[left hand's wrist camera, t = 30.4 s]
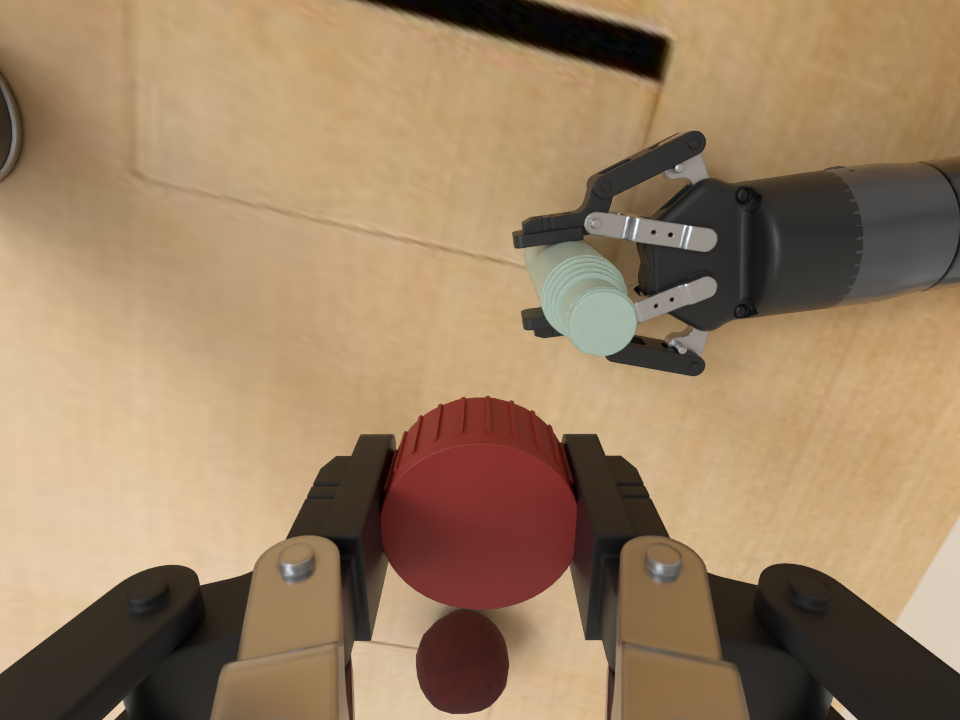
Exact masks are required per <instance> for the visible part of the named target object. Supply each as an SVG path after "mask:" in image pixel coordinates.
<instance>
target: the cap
mask: <svg viewBox="0 0 960 720" xmlns="http://www.w3.org/2000/svg"><path fill="white" fill-rule="evenodd" d="M573 483H574V480H573V476H572V473H571V469H570V466H569V462H568V458H567V455H566V451H565V448H564V444H563V442H561V443H560V442H559V441H558V439H557V437H556V435H555V434H554V433H553V429H552V426H551V425H550V424H549V425H547V424H546V423H545V422H544V421H543V420H541V419H540V418H539V417H538V416H536V415H535V412H534V411H533V410H531V412H530V411H529V410H528V409H525V408H524V407H521V406H519V405H516V404H514V401H511V400H510V402H508V401H504V400H500V399H496V398H490V396H486V398H467V399H465V397H462V398H461V399H459V400H455V401H453V402H450V403H447V404H444V405H442V403H441V404H439V405H438V408H436V409H434V410H432V411H430V412H428V413H427V414H425V415H424V416H422V415H421V416H419V417H418V421H417V422H416V423H415V424H414V425H413V426H412V427H411V428H410V429H409V431H408V432H406V431H405V432H404V433H403V437H402V440H401V443H400V446H399V448H398V450H395V451H394V454H393V458H392V461H391V465H390V468H389V472H388V475H387V479H386V482H385V486H384V489H383V491H384V492H386V494H385V498H384V501H383V505H382V509H381V513H380V516H381V531H382V543H383V549H384V552H385V554H386V557H387V559H388V561H389V562H390V564H391V566H392V567H393V569H394V570H395V571H396V573H397V574H398V575H399V576H400V577H401V578H402V579H403V580H404V581H405V582H406V583H407V584H408V585H409V586H411V587H412V588H413V589H415V590H416V591H418V592H419V593H421V594H423V595H424V596H426V597H428V598H430V599H432V600H435V601H437V602H440V603H443V604H446V605H449V606H453V607H458V608H464V609H478V610H486V609H497V608H502V607H508V606H511V605H515V604H518V603H521V602H524V601H526V600H528V599H531V598H533V597H535V596H536V595H538V594H540V593H542V592H543V591H544V590H546V589H547V588H549V587H550V586H551V585H552V584H554V583H555V582H556V581H557V580H558V579H559V578H560V577H561V576H562V574H563V573H564V572H565V571H566V570H567V568H568V567H569V565H570V563H571V562H572V560H573V556H574V544H575V530H576V517H577V500H576V496H575V494H574V489H573V485H572V484H573Z"/></svg>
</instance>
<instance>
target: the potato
mask: <svg viewBox="0 0 960 720" xmlns="http://www.w3.org/2000/svg"><path fill="white" fill-rule="evenodd" d="M416 669H417V677H418V681H419V684H420V687H421V690H422V691H423V693H424V695H425V696H426V698H427V699H428V700H429V701H430V703H431V704H432V705H433V706H434V707H435V708H437V709H438V710H441V711H444V712H447V713H451V714H468V713H473V712H479V711H482V710H484V709H486V708H488V707H490V706H491V705H492V704H493V703H494V702H495V701H496V700H497V699H498V698H499V696H500V695H501V694H502V692H503V690H504V689H505V687H506V682H507V676H508V670H509V660H508V653H507V647H506V643H505V640H504V638H503V636H502V634H501V632H500V631H499V629H498V628H497V626H496V625H495V624H494V623H492V622H491V621H490V620H489V619H488V618H486V617H485V616H483V615H481V614H478V613H476V612H473V611H467V610H461V611H456V612H451V613H450V614H448V615H446V616H445V617H443V618H441V619H439V620H438V621H437V622H435V623H434V624H433V625H432V626H431V627H430V628H429V630H428V631H427V632H426V633H425V634H424V635H423V637H422V640H421V642H420V645H419V648H418V651H417V654H416Z"/></svg>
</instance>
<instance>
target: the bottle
mask: <svg viewBox="0 0 960 720" xmlns="http://www.w3.org/2000/svg"><path fill="white" fill-rule="evenodd" d="M525 263H526V267H527V270H528V272H529V275H530V278H531V280H532V283H533V286H534V288H535V291H536V294H537V296H538V299H539V302H540V304H541V307H542V310H543V312H544V315H545V317H546V319H547V320H548V322H549V323H550V324H551V325H552V327H553V328H555V329H556V330H557V331H558V332H559V333H561V334H563V335H564V336H567V337H569V339H570V340H571V342H572V344H573V345H574V346H575V347H577V348H578V349H579V350H580V351H582V352H584V353H586V354H589V355H593V356H608V355H611V354H614V353H616V352H618V351H620V350H622V349H623V348H624V347H625V346H626V345H627V344H628V343H629V342H630V341H631V339H632V338H633V336H634V335H635V332H636V329H637V326H638V315H637V311H636V307H635V306H634V304H633V302H632V301H631V300H630V299H629V298H628V292H627V287H626V284H625V281H624V278H623V276H622V274H621V273H620V271H619V270H618V269H617V268H616V267H615V266H614V265H613V264H612V263H611V262H610V261H608V260H607V259H606V258H605V257H604V256H602V255H601V254H600V253H599V252H597V251H596V250H595V249H594V248H593V247H591V246H590V245H589V244H588V243H586V242H585V241H584V240H579V241H569V242H563V243H557V244H549V245H542V246H535V247H527V248H526V251H525Z"/></svg>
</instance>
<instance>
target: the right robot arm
mask: <svg viewBox="0 0 960 720" xmlns="http://www.w3.org/2000/svg"><path fill="white" fill-rule="evenodd" d="M705 144H706V139H705V137H704V135H703V134H702V133H701V132H699V131H690V132H683V133H677V134H674V135H672V136H670V137H668V138H666V139H664V140H662V141H660V142H658V143H656V144H654V145H652V146H650V147H648V148H646V149H644V150H642V151H640V152H638V153H636V154H634V155H632V156H630V157H628V158H626V159H624V160H622V161H620V162H618V163H616V164H614V165H612V166H610V167H608V168H606V169H604V170H602V171H600V172H598V173H596V174H594V175H592V176H591V177H590V178H589V179H588V181H587V191H586V194H585V198H584V201H583V204H582V205H581V206H580V207H579V208H578V209H577V210H575V211H571V212H564V213H557V214H550V215H543V216H535V217H530V218H528V219H526V220H524V221H523V222H522V230H520V231H515V232H512V235H513V244H514V247H515V248H527V247H535V246H542V245H549V244H557V243H563V242H569V241H579V240H583V235H589V234H592V235H598V236H605V237H612V238H619V239H625V240H629V241H634V242H637V250H638V253H639V256H640V260H641V264H640V269H639V273H638V283H636V284H634V285H631V286H629V287H627V292H628V298H629V299H630V300H631V301H632V302H633V304H634V306H635V307H636V311H637V315H638V323H641V322H645V321H647V320H650V319H652V318H655V317H657V316H660V315H662V314H665V313H668V314H670V315H671V316H673V317H675V318H677V319H679V320H681V321H682V322H684V323H686V324H688V327H687V328H686V329H685V330H684V331H682V332H673V333H670V334H668V335H667V336H666V337H665V339H664V340H660V339H654V338H649V337H643V336H638V335H634V336H633V338H632V339H631V341H630V342H629V343H628V344H627V345H626V346H625V347H624V348H623V349H622V350H620V351H618V352H616V353H614V354H611V355H608V356H605V357H606V358H607V359H608V360H609V361H611V362H616V363H622V364H627V365H633V366H639V367H644V368H650V369H655V370H661V371H667V372H672V373H678V374H684V375H689V376H697V375H699V374H701V373H702V372H703V371H704V369H705V362H704V360H703V359H702V358H701V353H702V350H703V347H704V344H705V341H706V339H707V336H708V333H709V331H712V330H715V329H717V328H719V327H720V326H722V325H723V324H725V323H727V322H729V321H732V320H735V319H743V318H754V317H762V316H770V315H778V314H786V313H794V312H801V311H809V310H817V309H825V308H833V307H841V306H849V305H856V304H865V303H871V302H877V301H881V300H886V299H890V298H894V297H897V296H901V295H905V294H910V293H915V292H920V291H928V290H936V289H943V288H951V287H959V286H960V156H959V157H952V158H945V159H938V160H931V161H924V162H917V163H903V164H867V165H859V166H852V167H841V166H836V167H831V168H827V169H824V170H823V171H816V172H809V173H802V174H795V175H788V176H780V177H773V178H766V179H759V180H752V181H745V182H738V183H726V182H723V181H721V180H719V179H715V178H709V175H708V172H707V169H706V166H705V163H704V160H703V157H702V154H701V152H702V151H703V150H704V148H705ZM658 174H660V175H661V176H662V177H663V178H665V179H671V180H676V179H680V178H682V179H684V180H685V181H686V183H687V185H686V186H685V187H684V188H683V189H681V190H680V191H679V192H678V193H677V194H676V195H675V196H674V197H672V198H671V199H670V200H669V201H668V202H667V203H666V204H665V205H663V206H662V207H661V208H660V209H659V210H658V211H657V212H656V213H655V214H653V215H652V216H644V215H637V214H630V213H623V212H613V211H609V208H610V205H611V201H612V198H613V196H615V195H617V194H619V193H621V192H623V191H625V190H627V189H629V188H631V187H633V186H635V185H637V184H639V183H641V182H643V181H646V180H648V179H650V178H652V177H654V176H656V175H658ZM641 292H642V293H641ZM640 293H641V294H640ZM521 315H522V323H523V328H524V329H525V330H534V334H535V336H537V337H541V338H549V337H557V336H564V335H563V334H561V333H559V332H558V331H557V330H556V329H555V328H553V327H552V325H551V324H550V323H549V322H548V320H547V319H546V317H545V315H544V312H543V310H542V307H539V308H531V309H525V310H523V311H521Z"/></svg>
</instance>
